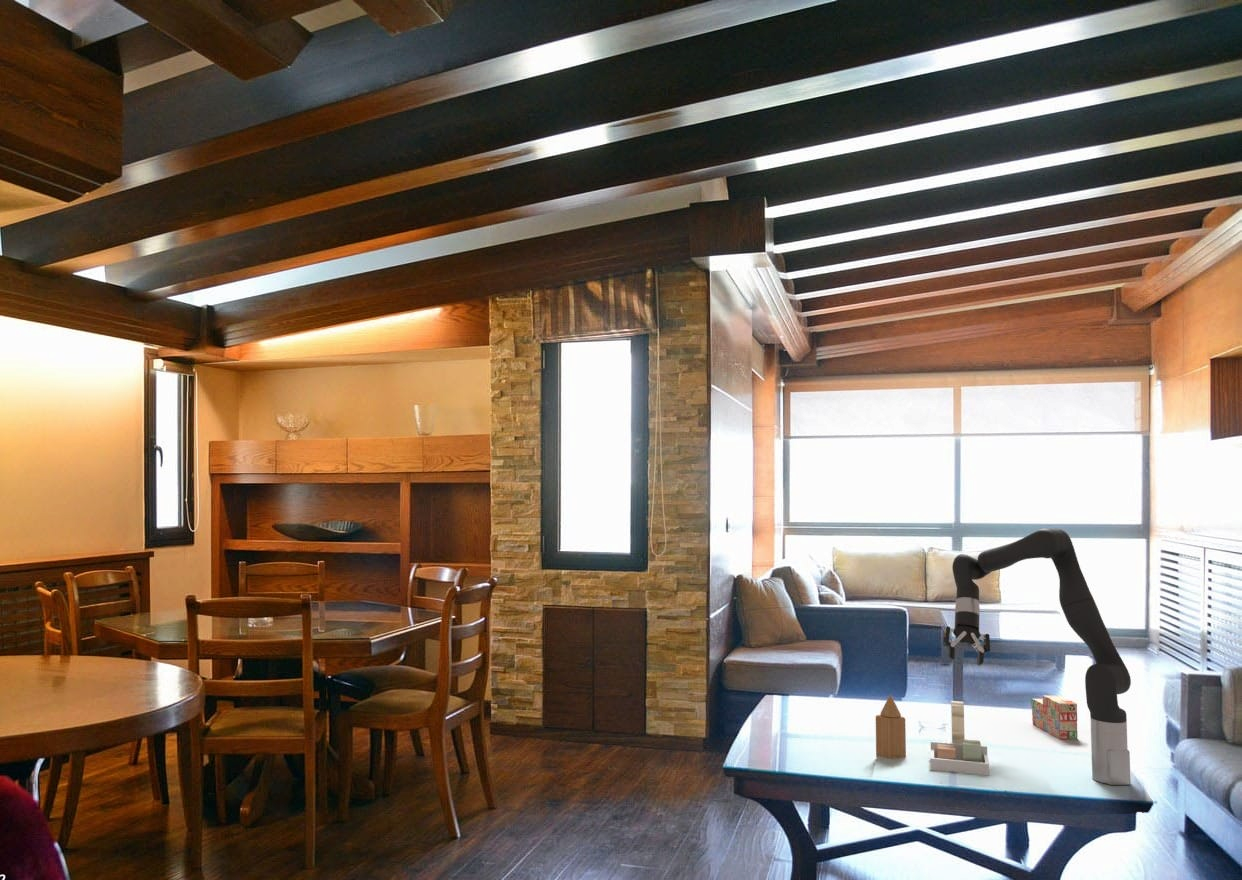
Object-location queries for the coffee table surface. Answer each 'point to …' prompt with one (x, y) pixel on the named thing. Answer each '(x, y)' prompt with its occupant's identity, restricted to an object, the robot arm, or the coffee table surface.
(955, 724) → the birch board
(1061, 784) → the coffee table surface
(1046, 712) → the stack of blocks
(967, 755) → the offcut tall
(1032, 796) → the coffee table surface
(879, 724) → the decorative item
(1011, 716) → the coffee table surface
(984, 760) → the white tray
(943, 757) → the offcut short
